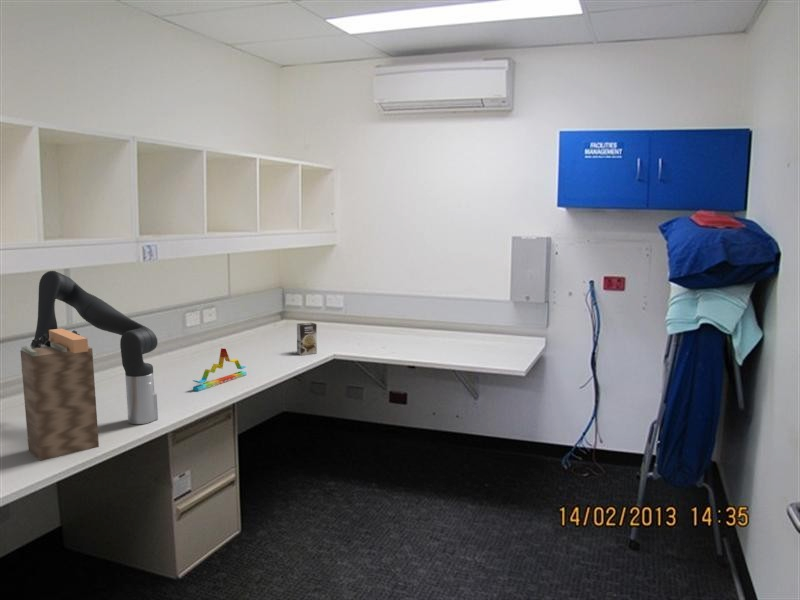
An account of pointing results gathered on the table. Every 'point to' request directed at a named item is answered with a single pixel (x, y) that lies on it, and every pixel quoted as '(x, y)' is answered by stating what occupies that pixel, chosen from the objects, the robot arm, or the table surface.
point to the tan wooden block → (69, 340)
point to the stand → (59, 400)
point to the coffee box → (306, 338)
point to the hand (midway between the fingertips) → (61, 334)
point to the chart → (224, 379)
